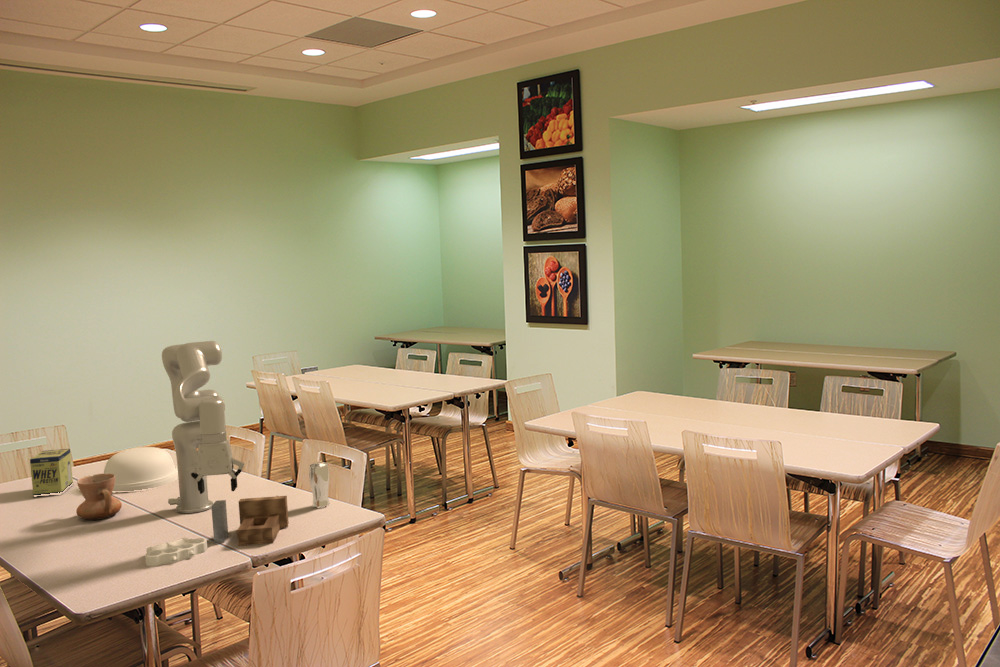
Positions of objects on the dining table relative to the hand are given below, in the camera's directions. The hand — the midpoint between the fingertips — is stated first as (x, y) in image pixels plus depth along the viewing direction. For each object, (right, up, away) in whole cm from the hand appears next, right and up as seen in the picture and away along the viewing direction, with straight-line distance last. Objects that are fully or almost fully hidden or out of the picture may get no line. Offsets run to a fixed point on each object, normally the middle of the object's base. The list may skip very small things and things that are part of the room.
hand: (218, 491), depth 249 cm
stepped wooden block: (+12, -15, +5) cm, 20 cm away
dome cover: (-59, -12, +76) cm, 97 cm away
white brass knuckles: (-9, -18, -10) cm, 23 cm away
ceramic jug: (-53, -16, +31) cm, 64 cm away
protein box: (-90, -14, +67) cm, 114 cm away
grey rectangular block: (0, -16, +2) cm, 16 cm away
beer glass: (+25, -12, +34) cm, 44 cm away
